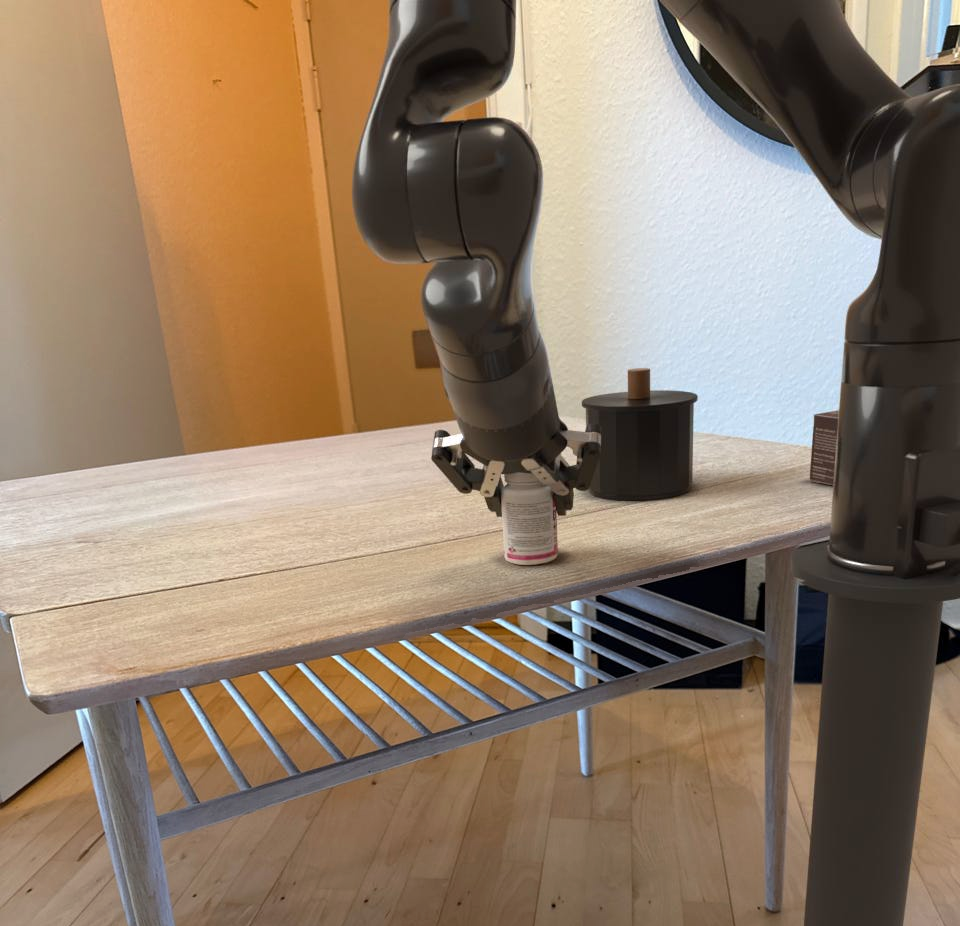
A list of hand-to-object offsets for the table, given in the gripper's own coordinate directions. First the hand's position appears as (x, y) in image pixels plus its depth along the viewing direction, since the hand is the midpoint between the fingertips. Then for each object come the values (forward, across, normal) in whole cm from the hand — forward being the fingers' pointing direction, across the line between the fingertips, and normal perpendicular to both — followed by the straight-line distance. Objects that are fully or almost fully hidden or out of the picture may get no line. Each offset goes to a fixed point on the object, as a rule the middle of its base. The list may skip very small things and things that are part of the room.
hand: (532, 507), depth 81 cm
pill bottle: (+2, 0, +4) cm, 5 cm away
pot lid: (+14, -8, -21) cm, 27 cm away
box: (+21, -31, -15) cm, 40 cm away
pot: (+20, -8, -14) cm, 26 cm away
